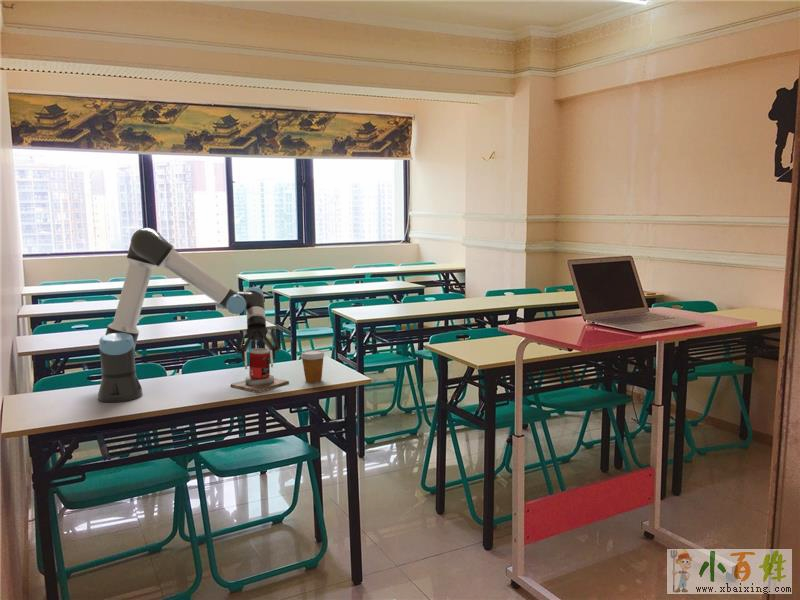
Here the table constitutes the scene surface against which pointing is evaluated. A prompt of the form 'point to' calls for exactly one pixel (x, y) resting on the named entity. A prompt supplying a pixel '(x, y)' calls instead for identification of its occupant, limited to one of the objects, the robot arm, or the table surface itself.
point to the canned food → (259, 363)
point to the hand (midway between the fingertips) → (259, 366)
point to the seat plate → (259, 388)
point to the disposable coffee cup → (313, 365)
